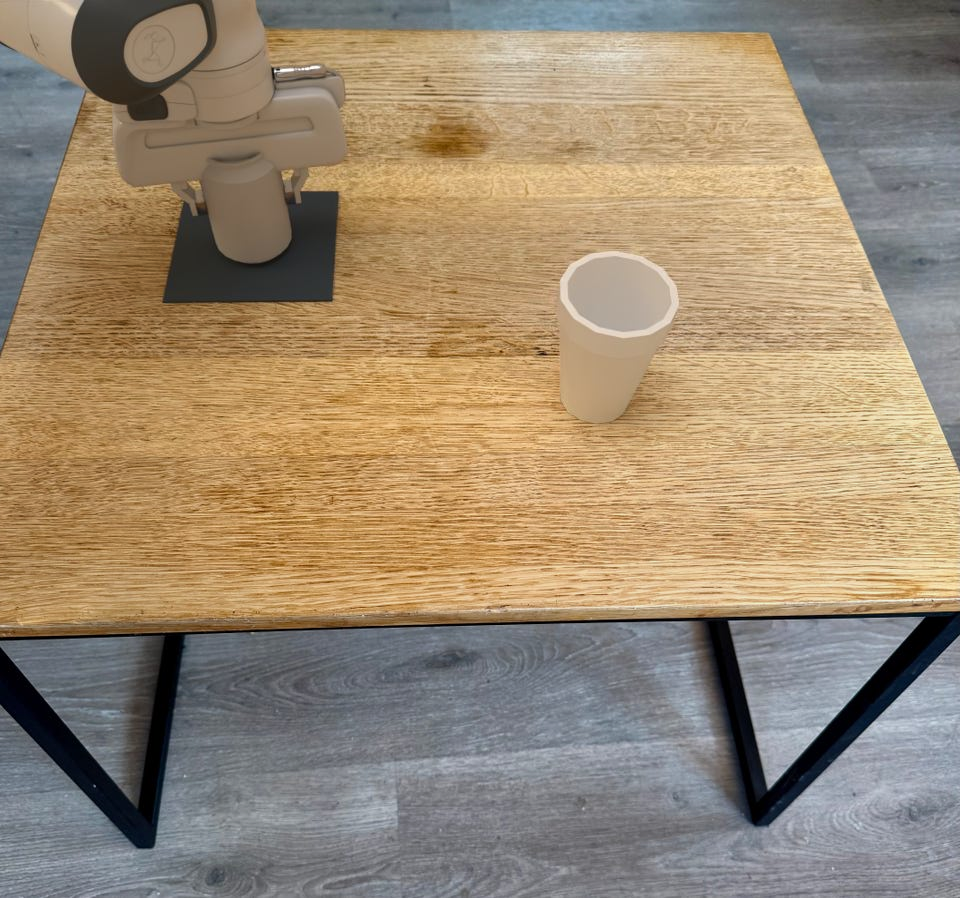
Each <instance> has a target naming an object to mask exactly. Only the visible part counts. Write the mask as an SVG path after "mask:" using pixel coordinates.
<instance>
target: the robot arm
mask: <svg viewBox="0 0 960 898" xmlns="http://www.w3.org/2000/svg"><path fill="white" fill-rule="evenodd" d="M0 45H1V46H3V47H6V48H7V49H10V50H12V51H14V52H17V53H18V54H21V55H23V56H24V57H26V58H28V59H30V60H31V61H33V62H34V63H36V64H38V65H40V66H41V67H43V68H45V69H47V70H48V71H50V72H52V73H53V74H56V75H57V76H59V77H61V78H63V79H65V80H66V81H69V82H70V83H72V84H74V85H75V86H77V87H79V88H80V89H82V90H84V91H85V92H87V93H90V94H91V95H93V96H95V97H97V98H100V99H101V100H103V101H105V102H108V103H110V105H111V107H112V110H111V111H112V112H111V129H112V130H111V131H112V146H113V151H114V157H115V162H116V166H117V169H118V173H119V175H120V178H121V180H122V181H124V182H125V183H126V184H128V185H130V186H131V187H133V188H143V187H151V186H161V185H169V184H170V187H171V190H172V192H173V193H175V195H177V196H178V197H179V198H180V199H182V200H183V201H185V202H187V203H189V205H190V208H191V212H192V215H193V216H200V215H207V214H209V213H208V210H207V207H206V202H205V199H204V197H203V193H202V189H195V188H194V187H193V186H192V185H190V184H189V182H196V181H199V180H202V173H203V172H204V171H205V170H206V168H207V167H208V166H209V165H210V164H209V162H208V161H206V159H208V158H211V159H214V160H216V161H219V162H224V161H238V160H243V159H250V158H252V157H255V156H256V155H257V154H258V153H264V155H263V156H262V159H264V160H266V161H268V162H269V163H271V164H272V165H274V166H275V170H276V171H281V172H283V171H293V173H292V175H291V177H290V179H284V180H283V184H284V194H285V200H286V205H289V204H299V203H301V196H300V191H302V189H303V187H304V185H305V183H306V182H307V180H308V178H309V177H310V170H309V168H318V167H328V166H329V167H330V166H337V165H340V164H342V163H343V162H344V160H345V159H346V158H347V156H348V155H349V147H348V146H349V145H348V139H347V137H346V131H345V125H344V122H343V118H342V113H341V108H342V107H343V106H344V104H345V102H346V98H347V94H346V85H345V79H344V77H343V76H342V74H341V73H340V72H339V71H338V70H336V69H334V68H331V67H327V66H326V65H325V63H320V62H317V63H316V62H315V63H314V62H313V63H309V64H307V65H306V64H305V65H281V66H272V64H271V63H272V62H271V56H270V51H269V45H268V38H267V32H266V28H265V25H264V23H263V21H262V19H261V17H260V15H259V11H258V8H257V0H0Z"/></svg>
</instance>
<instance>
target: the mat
mask: <svg viewBox="0 0 960 898" xmlns="http://www.w3.org/2000/svg"><path fill="white" fill-rule="evenodd" d="M339 193H340V192H339V191H338V190H300V196H301V203H299V204H289V205H287V208H288V214H289V219H290V225H291V241H290V243H289V245H288V247H287V248H286V249H285V250H284V251H283V252H282V253H281V254H279V255H277V256H276V257H274V258H273V259H271V260H269V261H266V262H262V263H253V264H249V263H243V262H240V261H235V260H233V259H231V258H228V257H226V256H225V255H224V254H223V253H222V252H221V251H220V250H219V249H218V247H217V244H216V241H215V238H214V234H213V230H212V227H211V223H210V219H209V215H208V214H207V215H200V216H193V215H192V212H191V208H190V205H189V203H187V202H185V201H184V200H183V201H182V205H181V210H180V215H179V220H178V225H177V229H176V235H175V239H174V244H173V248H172V254H171V258H170V263H169V268H168V273H167V278H166V282H165V287H164V292H163V297H162V303H163V304H176V303H177V304H179V303H182V304H183V303H187V304H189V303H191V304H193V303H196V304H197V303H293V302H294V303H296V302H298V303H300V302H301V303H302V302H305V303H307V302H308V303H309V302H312V303H313V302H315V303H316V302H333V295H334V294H333V293H334V280H335V279H334V278H335V277H334V276H335V264H336V263H335V260H336V244H337V243H336V242H337V227H338V212H339V211H338V210H339V209H338V208H339Z"/></svg>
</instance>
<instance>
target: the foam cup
mask: <svg viewBox="0 0 960 898" xmlns="http://www.w3.org/2000/svg"><path fill="white" fill-rule="evenodd" d="M557 290H558V291H557V295H556V321H557V323H558V330H559V331H558V345H559V346H558V349H559V351H558V353H559V355H558V356H559V363H558V364H559V401H560V402H561V404H562V406H563V407H564V409H565V410H566V412H567V413H569V414H570V415H572V416H573V417H575V418H576V419H578V420H579V421H581V422H587V423H589V424H590V423H591V424H595V425H597V424H605V423H610V422H614V421H615V420H616V419H618V418H620V417H622V416H623V415H624V414H625V412H626V410H627V408H628V406H629V405H630V402H631V400H632V399H633V396H634V395H635V393H636V391H637V389H638V387H639V385H640V383H641V382H642V380H643V378H644V376H645V374H646V373H647V370H648V368H649V366H650V364H651V362H652V361H653V359H654V357H655V355H656V354H657V352H658V349H659V348H660V347H661V346H662V345H664V344H665V341H666V339H667V338H668V336H669V334H670V333H671V330H672V328H673V326H674V323H675V320H676V318H677V315H678V311H679V308H680V301H679V294H678V287H677V284H676V283H675V282H674V281H673V280H672V278H671V277H670V276H669V274H668V273H667V272H666V270H665V269H664V268H663V267H661V266H660V265H657V264H656V263H654V262H652V261H650V260H649V259H647V258H645V257H643V256H642V255H639V254H638V255H637V254H633V253H628V252H623V251H616V250H610V251H601V252H591V253H588V254H587V255H585V256H583V257H581V258H579V259H577V260H576V261H573V262H572V263H570V264H569V266H568V267H567V269H566V270H565V271H564V273H563V275H562V276H561V277H560V279H559V283H558V289H557Z"/></svg>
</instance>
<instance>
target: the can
mask: <svg viewBox="0 0 960 898" xmlns="http://www.w3.org/2000/svg"><path fill="white" fill-rule="evenodd" d="M263 155H264V153H258V154H257V155H256V156H255V157H252V158H250V159H243V160H238V161H224V162H219V161H216V160H214V159H211V158H208V159H206V161H208V162H209V164H210V165H209V166H208V167H207V168H206V170H205V171H204V172H203V173H202V180H198V181H199V185H200V188H201V189H200V190H202V193H203V197H204V199H205V202H206V207H207V210H208V213H209V214H208V215H209V219H210V223H211V227H212V230H213V234H214V238H215V241H216V244H217V247H218V249H219V250H220V251H221V252H222V253H223V254H224V255H225V256H226V257H228V258H231V259H233V260H235V261H240V262H243V263H249V264H253V263H262V262H266V261H269V260H271V259H273V258H274V257H276V256H277V255H279V254H281V253H282V252H283V251H284V250H285V249H286V248H287V247H288V245H289V243H290V241H291V225H290V219H289V214H288V208H287V205H286V200H285V194H284V184H283V173H282V171H276V170H275V166H274V165H272V164H271V163H269V162H268V161H266V160H264V159H262V156H263Z"/></svg>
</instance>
